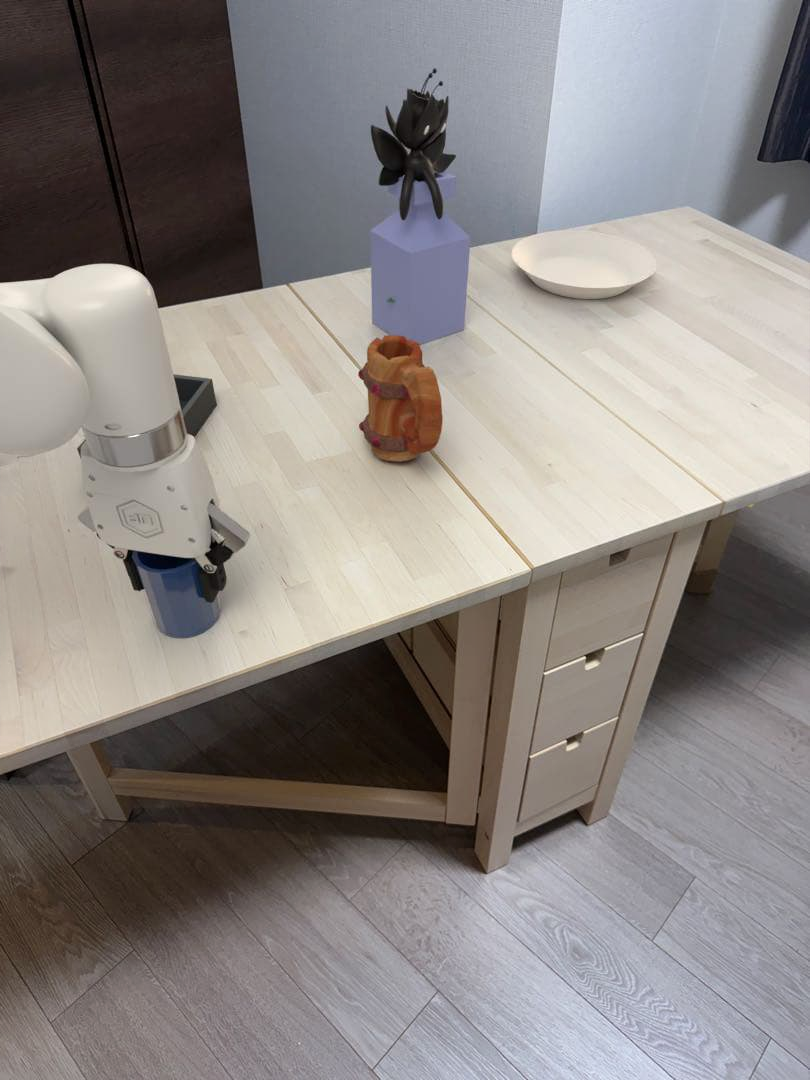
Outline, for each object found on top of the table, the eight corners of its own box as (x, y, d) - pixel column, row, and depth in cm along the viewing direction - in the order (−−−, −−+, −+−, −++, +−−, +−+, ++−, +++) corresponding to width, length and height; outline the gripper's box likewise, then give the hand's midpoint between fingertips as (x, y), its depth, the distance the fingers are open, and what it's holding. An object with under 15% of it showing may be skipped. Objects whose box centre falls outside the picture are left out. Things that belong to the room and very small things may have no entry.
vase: (397, 357, 111) (399, 88, 87) (356, 327, 118) (347, 70, 94) (472, 332, 117) (492, 74, 93) (429, 304, 124) (437, 58, 100)
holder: (86, 476, 89) (76, 448, 86) (152, 397, 102) (145, 370, 99) (159, 486, 88) (152, 458, 85) (217, 405, 101) (212, 378, 98)
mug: (351, 437, 96) (346, 329, 85) (408, 422, 98) (410, 316, 88) (398, 504, 86) (399, 392, 76) (460, 486, 89) (469, 375, 78)
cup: (143, 632, 72) (119, 566, 65) (171, 585, 76) (151, 519, 70) (205, 643, 71) (187, 577, 65) (230, 594, 75) (215, 529, 69)
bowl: (501, 299, 126) (503, 279, 123) (517, 243, 143) (520, 224, 141) (652, 316, 122) (658, 295, 119) (650, 256, 140) (655, 237, 137)
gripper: (8, 443, 57) (76, 600, 69) (221, 472, 55) (253, 630, 67) (60, 392, 62) (114, 546, 75) (256, 416, 60) (279, 572, 72)
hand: (179, 584), depth 71 cm, fingers closed on cup, 6 cm apart
